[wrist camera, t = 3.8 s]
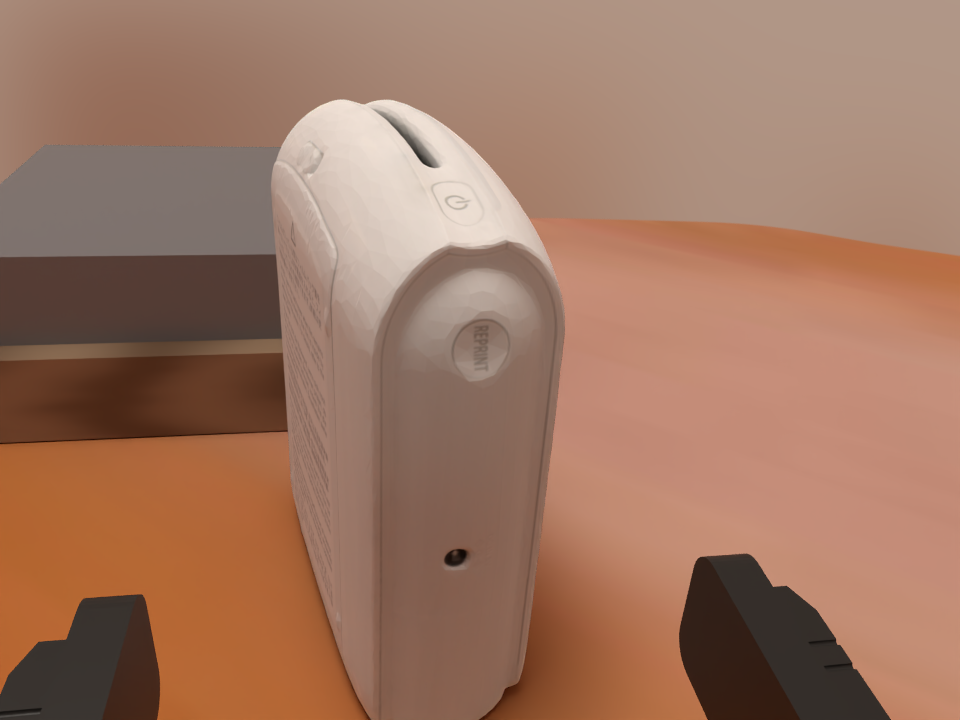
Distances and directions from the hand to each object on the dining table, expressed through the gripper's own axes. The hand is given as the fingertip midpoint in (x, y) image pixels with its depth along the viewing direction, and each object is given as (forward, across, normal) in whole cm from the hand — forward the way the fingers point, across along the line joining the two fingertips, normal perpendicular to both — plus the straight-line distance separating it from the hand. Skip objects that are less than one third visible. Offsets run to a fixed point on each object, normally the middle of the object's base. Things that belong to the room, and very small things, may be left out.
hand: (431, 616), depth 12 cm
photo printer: (+8, 0, +7) cm, 11 cm away
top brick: (+23, +7, +4) cm, 24 cm away
